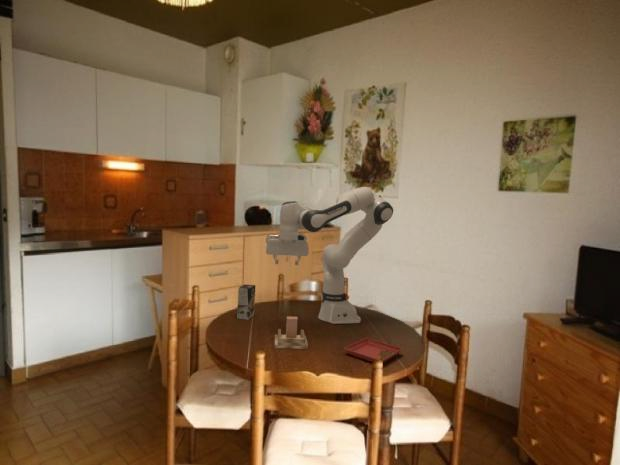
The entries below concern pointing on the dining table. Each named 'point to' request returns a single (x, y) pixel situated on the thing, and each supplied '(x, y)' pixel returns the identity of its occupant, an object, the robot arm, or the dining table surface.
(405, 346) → the dining table surface
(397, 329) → the dining table surface
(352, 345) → the plant saucer
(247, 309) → the coffee box
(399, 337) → the dining table surface
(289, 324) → the pinkish brown block
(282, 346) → the rack
